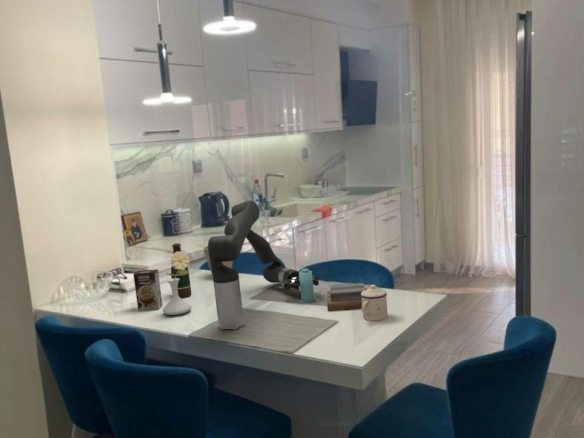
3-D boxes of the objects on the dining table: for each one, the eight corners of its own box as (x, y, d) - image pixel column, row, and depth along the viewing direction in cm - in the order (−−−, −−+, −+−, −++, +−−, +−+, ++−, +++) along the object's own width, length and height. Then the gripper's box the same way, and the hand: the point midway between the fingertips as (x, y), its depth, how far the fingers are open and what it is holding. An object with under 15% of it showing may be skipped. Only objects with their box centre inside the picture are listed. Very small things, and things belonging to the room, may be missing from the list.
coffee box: (137, 311, 231) (132, 274, 229) (142, 307, 237) (137, 270, 235) (159, 309, 231) (154, 272, 228) (163, 305, 237) (158, 268, 235)
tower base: (370, 308, 206) (369, 292, 205) (327, 311, 207) (326, 295, 207) (367, 295, 222) (366, 281, 221) (327, 298, 223) (326, 284, 222)
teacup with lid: (371, 311, 202) (368, 280, 200) (393, 315, 196) (391, 283, 194) (352, 322, 193) (350, 289, 191) (375, 325, 187) (372, 292, 185)
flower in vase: (163, 319, 217) (155, 257, 213) (162, 311, 228) (154, 252, 224) (197, 313, 220) (189, 252, 217) (194, 306, 231) (187, 247, 227)
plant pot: (218, 283, 265) (214, 250, 263) (201, 279, 276) (197, 248, 274) (243, 276, 275) (239, 244, 272) (226, 272, 286) (222, 242, 284)
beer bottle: (170, 298, 246) (163, 245, 243) (181, 293, 253) (175, 242, 250) (184, 299, 243) (177, 245, 239) (195, 294, 250) (188, 242, 246)
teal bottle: (314, 302, 220) (311, 270, 218) (301, 303, 220) (298, 271, 219) (314, 298, 225) (311, 267, 223) (301, 299, 226) (298, 268, 224)
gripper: (274, 272, 231) (291, 279, 217) (304, 266, 237) (322, 272, 223) (276, 289, 232) (293, 298, 218) (305, 283, 239) (324, 290, 224)
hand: (308, 285), depth 220 cm, fingers open, 8 cm apart
